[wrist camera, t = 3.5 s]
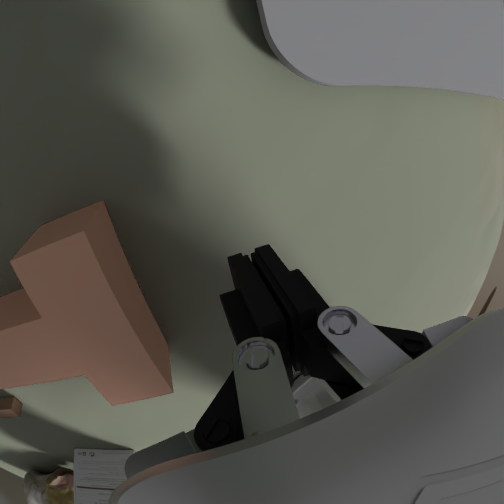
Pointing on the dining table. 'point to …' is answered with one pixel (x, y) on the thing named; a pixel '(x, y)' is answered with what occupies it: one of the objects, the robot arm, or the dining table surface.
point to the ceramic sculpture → (49, 487)
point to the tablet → (390, 42)
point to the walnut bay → (10, 407)
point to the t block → (81, 314)
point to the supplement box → (98, 474)
